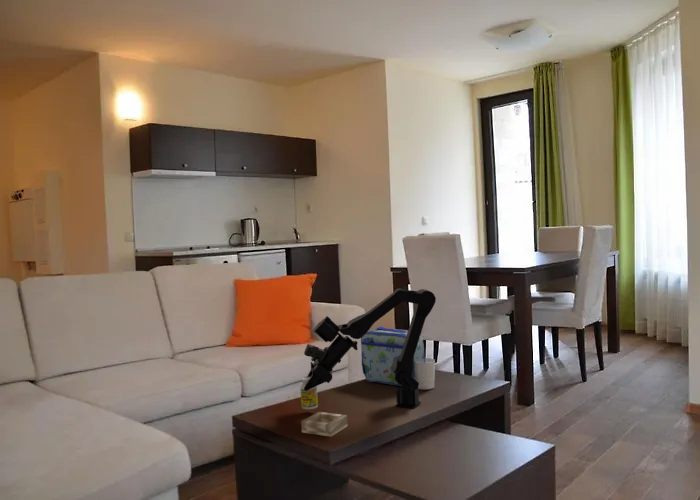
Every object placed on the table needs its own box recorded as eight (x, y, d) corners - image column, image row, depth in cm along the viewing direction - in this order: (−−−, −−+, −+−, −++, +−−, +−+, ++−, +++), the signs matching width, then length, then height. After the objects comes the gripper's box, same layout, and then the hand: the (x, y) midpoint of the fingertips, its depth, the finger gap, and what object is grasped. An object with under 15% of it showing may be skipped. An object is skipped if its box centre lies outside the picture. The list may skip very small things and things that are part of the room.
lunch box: (358, 380, 238) (356, 327, 237) (376, 375, 245) (374, 323, 245) (410, 391, 219) (408, 333, 219) (428, 385, 227) (426, 329, 226)
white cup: (439, 385, 225) (437, 358, 225) (430, 391, 218) (429, 363, 218) (419, 383, 229) (418, 357, 229) (410, 388, 222) (409, 361, 222)
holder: (347, 426, 184) (347, 415, 184) (330, 436, 175) (330, 425, 175) (319, 422, 189) (318, 411, 189) (301, 432, 180) (301, 421, 180)
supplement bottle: (320, 405, 200) (318, 376, 200) (314, 410, 195) (312, 380, 195) (305, 404, 202) (303, 376, 202) (299, 409, 197) (297, 380, 197)
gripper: (316, 330, 207) (285, 365, 207) (319, 340, 189) (286, 378, 188) (340, 351, 209) (310, 386, 208) (346, 363, 190) (312, 401, 189)
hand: (304, 387), depth 198 cm, fingers closed on supplement bottle, 5 cm apart
